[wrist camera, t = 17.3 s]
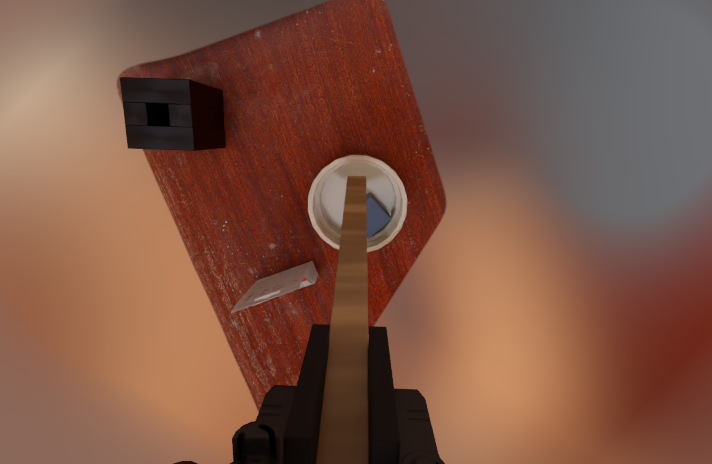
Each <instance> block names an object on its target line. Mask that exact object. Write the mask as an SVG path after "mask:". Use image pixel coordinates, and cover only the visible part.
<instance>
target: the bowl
mask: <svg viewBox="0 0 712 464" xmlns="http://www.w3.org/2000/svg"><path fill="white" fill-rule="evenodd" d="M347 176H366V193H367V194H368V193H369V192H370V193H371V194H372V195H373V196H374V197H375V198H376V199H377V200H378V202H379V203H380V204H381V205H382V206H383V207H384V208H385V209H386V210H387V211H388V212H389V215H390V217H391V220H390V221H388V222H387V223H386V224H385V225H384V226H383V227H382V228H381V229H379V230H378V231H377V232H376V233H375V234H374V235H373V236H371V237H370V238H369V239H368V238H367V252H370V251H374V250H378V249H380V248H381V247H383V246H384V245H386V244H387V243H389V242H390V241H392V239H393V238H394V237H395V236H396V235H397V233H398V232H399V231H400V229H401V228H402V225H403V223H404V220H405V218H406V215H407V196H406V192H405V188H404V185H403V183H402V181H401V180H400V178H399V177H398V175H397V174H396V172H395V171H394V170H393V169H392V168H391V167H390V166H389V165H388V164H386V163H385V162H384V161H383V160H381V159H380V158H377V157H375V156H372V155H369V154H363V153H351V154H348V155H344V156H341V157H338V158H336V159H335V160H334V161H332V162H331V163H329V164H328V165H326V166H325V167H324V168H323V169H322V170H321V171H320V173H319V174H318V175H317V177H316V178H315V179H314V181H313V183H312V186H311V189H310V192H309V195H308V213H309V216H310V219H311V223H312V226H313V227H314V229H315V230H316V232H317V233H318V234H319V236H320V237H321V238H322V239H323V240H324V241H325V242H327V243H328V244H329V245H331V246H332V247H334V248H336V249H339V246H340V238H341V229H342V220H343V211H344V202H345V193H346V184H347Z"/></svg>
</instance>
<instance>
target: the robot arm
mask: <svg viewBox="0 0 712 464" xmlns="http://www.w3.org/2000/svg"><path fill="white" fill-rule="evenodd" d="M329 333H330V325H319V324H313V325H312V329H311V333H310V337H309V341H308V345H307V348H306V352H305V356H304V360H303V364H302V368H301V371H300V375H299V379H298V383H297V386H285V385H274V386H273V387H272V388H271V389H270V390H269V391H268V392H267V393H266V395H265V397H264V400H263V403H262V407H261V408H260V411H259V414H258V416H257V419H256V421H255V422H250V423H248V424H245V425H243V426H242V427H241V428H240V429H238V430H237V431H236V432H235V434H234V436H233V438H232V444H233V459H234V462H232V463H230V464H316V457H317V449H318V440H319V431H320V422H321V414H322V405H323V396H324V387H325V378H326V370H327V361H328V352H329ZM368 376H369V464H445V463H444V462H443V461H442V460H441V459H440V457H439V454H438V451H437V447H436V442H435V438H434V434H433V430H432V426H431V422H430V417H429V413H428V409H427V405H426V400H425V398H424V397H423V396H422V395H421V393H420V392H419V391H418V390H413V389H394V386H393V378H392V370H391V362H390V354H389V346H388V337H387V329H386V327H373V326H369V344H368ZM174 464H197V463H195V462H192V461H181V462H178V463H174Z"/></svg>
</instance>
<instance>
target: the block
mask: <svg viewBox="0 0 712 464" xmlns="http://www.w3.org/2000/svg"><path fill="white" fill-rule="evenodd" d="M390 220H391V217H390V215H389V212H388V211H387V210H386V209H385V208H384V207H383V206H382V205H381V204H380V203H379V202H378V200H377V199H376V198H375V197H374V196H373V195H372V194H371V193H370V192H369V193H368V194H367V238H368V239H369V238H370V237H371V236H373V235H374V234H375V233H376V232H377V231H378V230H379V229H381V228H382V227H383V226H384V225H385V224H386V223H387V222H388V221H390Z"/></svg>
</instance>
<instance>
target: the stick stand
mask: <svg viewBox="0 0 712 464" xmlns="http://www.w3.org/2000/svg"><path fill="white" fill-rule="evenodd" d="M120 82H121V91H122V99H123V108H124V117H125V124H126V125H125V126H126V135H127V143H128V148H134V149H162V150H191V151H195V150H206V149H217V148H225V130H224V112H223V91H222V90H220V89H217V88H213V87H210V86H207V85H204V84H201V83H198V82H195V81H192V80H189V79H159V78H129V77H120Z"/></svg>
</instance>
